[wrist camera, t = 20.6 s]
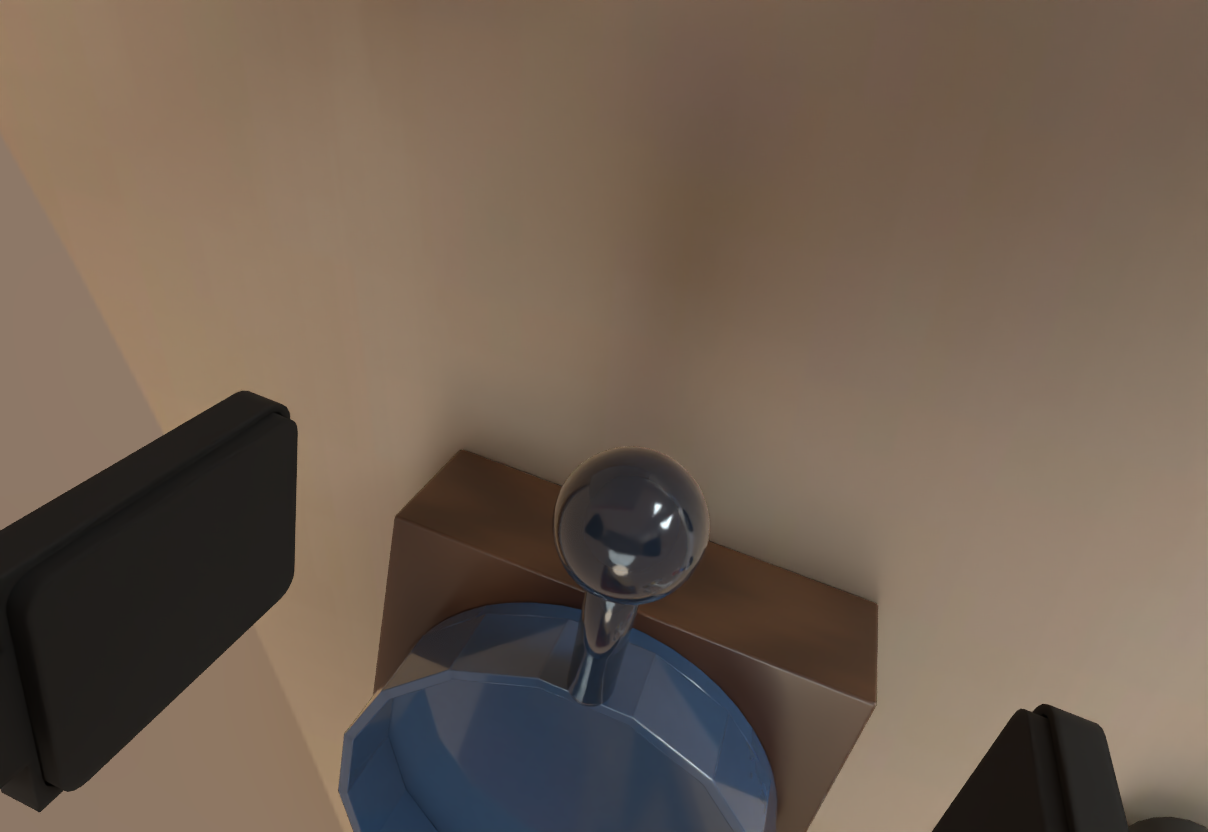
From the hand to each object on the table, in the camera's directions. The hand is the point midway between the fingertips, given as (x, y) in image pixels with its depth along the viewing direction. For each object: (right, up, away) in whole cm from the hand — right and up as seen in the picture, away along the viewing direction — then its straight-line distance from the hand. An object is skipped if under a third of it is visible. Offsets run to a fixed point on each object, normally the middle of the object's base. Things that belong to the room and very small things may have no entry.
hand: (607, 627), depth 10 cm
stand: (0, -5, +17) cm, 18 cm away
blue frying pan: (0, -4, +12) cm, 13 cm away
